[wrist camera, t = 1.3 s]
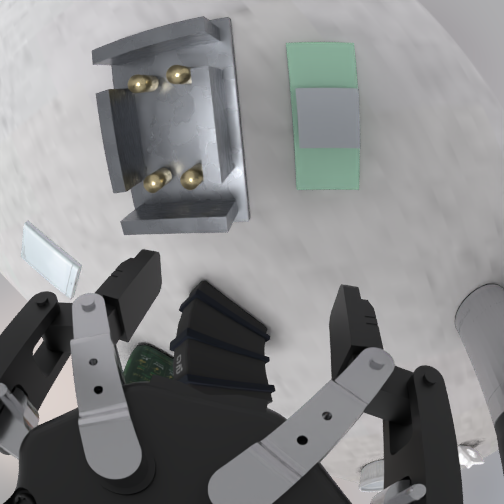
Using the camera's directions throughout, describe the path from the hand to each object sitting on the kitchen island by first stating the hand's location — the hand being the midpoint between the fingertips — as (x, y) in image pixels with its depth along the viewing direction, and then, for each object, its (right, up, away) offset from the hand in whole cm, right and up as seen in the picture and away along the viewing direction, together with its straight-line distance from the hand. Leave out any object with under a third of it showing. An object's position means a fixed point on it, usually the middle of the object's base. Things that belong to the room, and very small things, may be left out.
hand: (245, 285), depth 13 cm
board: (+7, +14, +13) cm, 21 cm away
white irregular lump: (+61, -55, +42) cm, 93 cm away
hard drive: (-32, 0, +28) cm, 42 cm away
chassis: (-7, +14, +15) cm, 22 cm away
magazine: (-2, -7, +26) cm, 27 cm away
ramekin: (+36, -57, +48) cm, 82 cm away
